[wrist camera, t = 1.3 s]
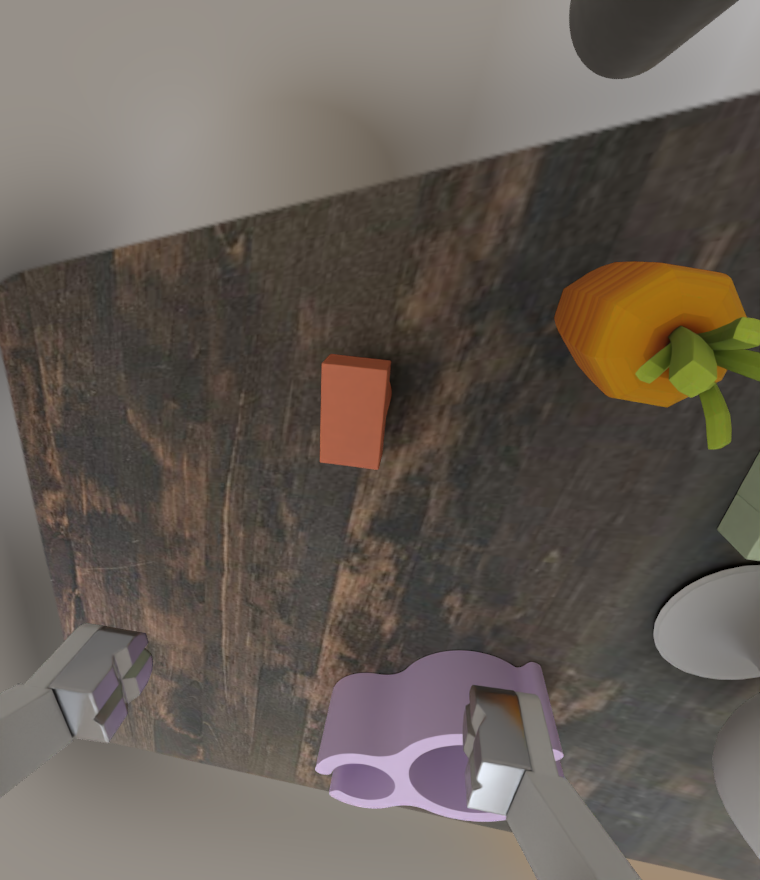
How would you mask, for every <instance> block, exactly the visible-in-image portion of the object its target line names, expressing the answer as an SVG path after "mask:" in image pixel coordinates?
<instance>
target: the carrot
mask: <svg viewBox="0 0 760 880" xmlns="http://www.w3.org/2000/svg"><path fill="white" fill-rule="evenodd" d="M554 319H555V324H556V327H557V329H558V331H559V333H560V335H561V337H562V339H563V340H564V342H565V344H566V346H567V347H568V349H569V351H570V353H571V355H572V356H573V358H574V360H575V362H576V364H577V365H578V366H579V367H580V368H581V370H582V371H583V372H584V373H585V374H586V375H587V377H588V378H589V379H590V380H591V381H592V382H593V383H594V384H595V385H596V386H597V387H598V388H599V389H600V390H601V391H602V392H603V393H604V394H605V395H607V396H609V397H612V398H617V399H623V400H629V401H634V402H640V403H645V404H651V405H656V406H662V407H669V406H671V405H673V404H675V403H677V402H679V401H681V400H683V399H685V398H687V397H691V398H692V397H694V396H696V395H698V394H699V397H700V400H701V402H702V406H703V410H704V414H705V418H706V431H707V442H708V449H710V450H711V449H720V448H722V447H724V446H725V445H727V444H729V443H730V442H731V433H732V428H731V419H730V413H729V410H728V408H727V405H726V403H725V400H724V398H723V396H722V394H721V392H720V390H719V388H718V386H717V384H716V383H717V382H719V381H721V380H722V378H723V377H724V375H725V373H726V371H727V369H728V370H730V371H733V372H736V373H738V374H741V375H744V376H746V377H749V378H752V379H754V380H757V381H760V353H758V352H754V351H749V350H744V349H748V348H753V347H756V346H759V345H760V320H757V319H753V318H747V317H746V314H745V312H744V309H743V307H742V304H741V302H740V299H739V297H738V294H737V292H736V289H735V287H734V284H733V282H732V279H731V278H730V277H729V276H728V275H727V274H723V273H720V272H714V271H708V270H702V269H696V268H690V267H684V266H678V265H672V264H666V263H657V262H614V263H611V264H608V265H605V266H602V267H600V268H597V269H595V270H593V271H591V272H589V273H588V274H586V275H584V276H583V277H581V278H580V279H578V280H577V281H575V282H574V283H572V284H571V285H569V286H568V287H566V288H565V289H563V292H562V295H561V298H560V301H559V304H558V307H557V310H556V313H555V316H554Z"/></svg>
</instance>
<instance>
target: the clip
mask: <svg viewBox="0 0 760 880" xmlns="http://www.w3.org/2000/svg"><path fill="white" fill-rule="evenodd" d="M472 685H478V686H485V687H492V688H500V689H507V690H514V691H515V692H523V693H530V694H536V695H537V696H538V697H539V699H540V700H541V704H542V708H543V712H544V716H545V720H546V724H547V729H548V733H549V737H550V741H551V745H552V749H553V753H554V757H555V761H556V765H557V770H558V774H559V776H560V777H564V774H563V770H562V766H561V762H560V759H561V758H563V752H562V748H561V744H560V740H559V736H558V732H557V728H556V724H555V720H554V716H553V712H552V708H551V704H550V701H549V697H548V693H547V689H546V685H545V681H544V677H543V673H542V669H541V666H540V665H539V664H537V663H535V662H529V663H527V664H526V665H524V666H522V667H514V666H513V665H511V664H509V663H508V662H506V661H504V660H502V659H500V658H497V657H495V656H492V655H489V654H485V653H480V652H475V651H464V650H454V651H444V652H439V653H435V654H431V655H428V656H426V657H423V658H421V659H419V660H417V661H416V662H414V663H413V664H411V665H410V666H409V667H408V668H407V669H406V670H404V671H402V672H400V673H397V674H392V675H382V674H375V673H357V674H352V675H349V676H346V677H344V678H342V679H341V680H339V681H338V682H337V683H336V684H335V686H334V688H333V692H332V696H331V701H330V705H329V710H328V714H327V719H326V723H325V728H324V732H323V737H322V741H321V746H320V750H319V755H318V759H317V763H316V768H315V770H316V771H317V772H318V773H320V774H325V775H328V774H331V772H332V771H333V775H332V780H331V785H330V791H329V794H330V796H332V797H333V798H335V799H337V800H339V801H342V802H344V803H347V804H350V805H354V806H358V807H365V808H387V807H391V806H398V805H409V806H416V807H420V808H423V809H426V810H428V811H431V812H433V813H436V814H439V815H442V816H445V817H449V818H454V819H459V820H466V821H479V822H489V821H501V820H506V816H503V815H499V814H494V813H489V812H485V811H480V810H475V809H470V808H467V800H466V786H465V769H466V766H467V762H468V757H467V755H466V754H465V752H464V751H463V717H464V711H465V707H466V705H468V704H469V703H470V700H469V692H470V689H471V686H472Z"/></svg>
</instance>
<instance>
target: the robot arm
mask: <svg viewBox="0 0 760 880" xmlns="http://www.w3.org/2000/svg"><path fill="white" fill-rule="evenodd" d="M147 644H148V638H147V635H146V633H142V632H136V631H130V630H124V629H119V628H113V627H107V626H103V625H96V624H90V623H84V624H83V625H81V626H79V627H78V628H76V629H75V631H74V632H73V633H72V634H71V635H70V636H69V637H68V638H67V639H66V640H65V641H64V642H63V643H62V644H61V646H60V647H59V648H58V649H57V650H56V651H55V652H54V653H53V654H52V655H51V656H50V657H49V659H47V661H46V662H45V663H44V664H43V665H42V666H41V667H40V668H39V669H38V670H37V671H36V673H34V675H33V676H32V677H31V678H30V679H29V680H28V681H27V682H26V683H25V684H17V685H15V686H13V687H11V688H9V689H7V690H6V691H4V692H2V693H0V798H1V797H2V796H4V795H5V794H6V793H7V792H9V791H10V790H11V789H12V788H14V787H15V786H16V785H18V784H19V783H20V782H21V781H23V780H24V779H25V778H26V777H28V776H29V775H30V774H31V773H33V772H34V771H35V770H36V769H38V768H39V767H40V766H42V765H43V764H44V763H45V762H47V761H48V760H49V759H51V758H52V757H53V756H54V755H55V754H57V753H58V752H59V751H61V750H62V749H63V748H64V747H66V746H67V745H68V744H70V743H71V742H72V741H73V738H76V739H84V740H90V741H97V742H104V743H109V742H110V740H111V739H112V737H113V736H114V734H115V732H116V731H117V729H118V728H119V726H120V725H121V723H122V722H123V720H124V719H125V717H126V716H127V714H128V703H129V702H130V701H132V700H133V699H135V698H136V697H138V696H139V695H140V694H141V693H142V691H143V689H144V688H145V686H146V685H147V683H148V680H149V677H150V675H151V672H152V668H153V658H152V654H151V653H150V652H149V651H148V650H147V649H146V648H145V647H146V645H147ZM469 700H470V703H469V704H468V705H466V707H465V711H464V717H463V751H464V752H465V754H466V755H467V757H468V762H467V766H466V769H465V786H466V800H467V808H470V809H475V810H480V811H485V812H489V813H494V814H499V815H503V816H506V820H507V822H508V824H509V826H510V828H511V830H512V832H513V834H514V835H515V837H516V839H517V841H518V843H519V845H520V847H521V849H522V851H523V853H524V855H525V857H526V859H527V861H528V863H529V864H530V866H531V868H532V870H533V872H534V874H535V876H536V878H537V880H642V879H641V878H640V877H639V875H638V874H637V873H636V871H635V870H634V869H633V867H632V866H631V865H630V863H629V862H628V860H627V859H626V858H625V856H624V855H623V854H622V852H621V851H620V850H619V848H618V847H617V846H616V844H615V843H614V842H613V840H612V839H611V838H610V836H609V835H608V834H607V832H606V831H605V829H604V828H603V827H602V825H601V824H600V823H599V821H598V820H597V819H596V817H595V816H594V815H593V813H592V812H591V811H590V809H589V808H588V807H587V805H586V804H585V803H584V801H583V800H582V799H581V797H580V796H579V794H578V793H577V792H576V790H575V789H574V788H573V786H572V785H571V784H570V782H569V781H568V780H567V778H565V777H560V776H559V774H558V770H557V765H556V761H555V757H554V753H553V749H552V745H551V741H550V737H549V733H548V729H547V724H546V720H545V716H544V712H543V708H542V704H541V700H540V699H539V697H538V696H537V695H536V694H530V693H523V692H515V691H514V690H507V689H500V688H492V687H485V686H478V685H472V686H471V689H470V692H469Z"/></svg>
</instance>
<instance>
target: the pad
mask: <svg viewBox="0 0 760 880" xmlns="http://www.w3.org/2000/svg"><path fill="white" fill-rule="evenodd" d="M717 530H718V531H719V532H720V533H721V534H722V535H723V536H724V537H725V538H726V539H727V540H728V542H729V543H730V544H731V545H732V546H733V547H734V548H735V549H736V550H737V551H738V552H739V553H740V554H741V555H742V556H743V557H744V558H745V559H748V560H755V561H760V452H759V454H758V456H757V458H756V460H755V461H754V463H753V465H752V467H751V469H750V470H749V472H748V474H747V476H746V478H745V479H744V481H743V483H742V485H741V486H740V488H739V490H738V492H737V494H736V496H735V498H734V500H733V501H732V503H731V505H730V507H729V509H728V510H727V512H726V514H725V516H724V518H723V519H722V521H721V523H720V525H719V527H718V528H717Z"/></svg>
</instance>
